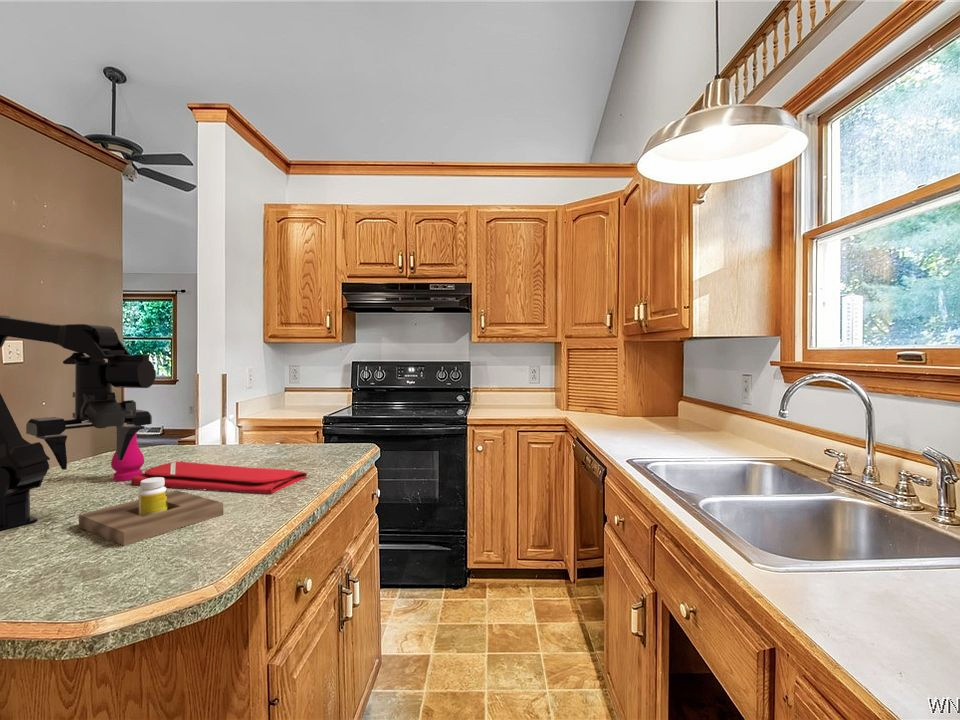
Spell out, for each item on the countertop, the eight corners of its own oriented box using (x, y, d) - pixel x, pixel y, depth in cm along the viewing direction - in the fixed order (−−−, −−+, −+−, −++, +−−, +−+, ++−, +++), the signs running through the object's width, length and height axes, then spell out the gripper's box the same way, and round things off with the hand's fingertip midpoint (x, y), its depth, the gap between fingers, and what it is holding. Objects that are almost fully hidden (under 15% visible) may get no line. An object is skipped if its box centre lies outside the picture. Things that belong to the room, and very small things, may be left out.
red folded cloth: (270, 496, 110) (270, 481, 110) (128, 487, 119) (128, 473, 119) (307, 479, 126) (307, 465, 126) (180, 471, 134) (179, 459, 134)
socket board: (79, 527, 90) (78, 514, 90) (176, 501, 106) (176, 490, 106) (123, 546, 81) (123, 532, 81) (223, 514, 97) (223, 502, 97)
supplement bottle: (171, 519, 94) (171, 478, 94) (145, 526, 90) (144, 484, 90) (161, 515, 97) (160, 475, 97) (134, 522, 93) (133, 480, 93)
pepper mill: (140, 473, 130) (138, 402, 130) (148, 477, 126) (147, 404, 125) (108, 479, 125) (106, 405, 124) (115, 483, 120) (113, 407, 120)
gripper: (49, 392, 81) (49, 481, 81) (165, 387, 97) (164, 461, 97) (25, 389, 86) (24, 472, 86) (139, 384, 102) (138, 454, 103)
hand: (93, 464), depth 93 cm, fingers open, 9 cm apart
